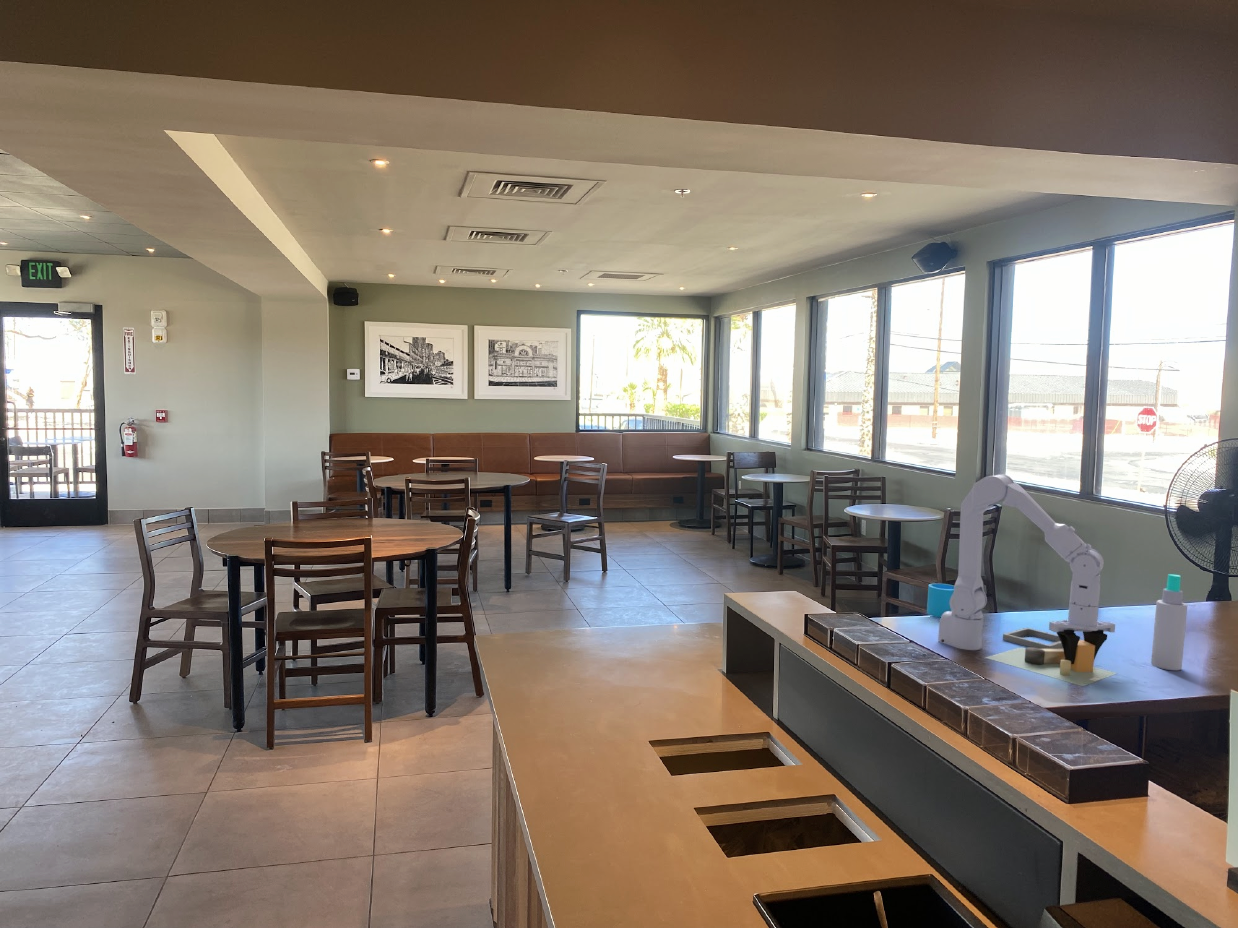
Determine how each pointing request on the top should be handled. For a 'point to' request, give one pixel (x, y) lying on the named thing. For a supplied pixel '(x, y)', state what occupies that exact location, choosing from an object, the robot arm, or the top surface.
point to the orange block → (1084, 657)
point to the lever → (1043, 655)
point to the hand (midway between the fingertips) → (1079, 662)
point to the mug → (939, 599)
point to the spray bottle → (1169, 627)
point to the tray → (1028, 632)
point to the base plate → (1051, 668)
